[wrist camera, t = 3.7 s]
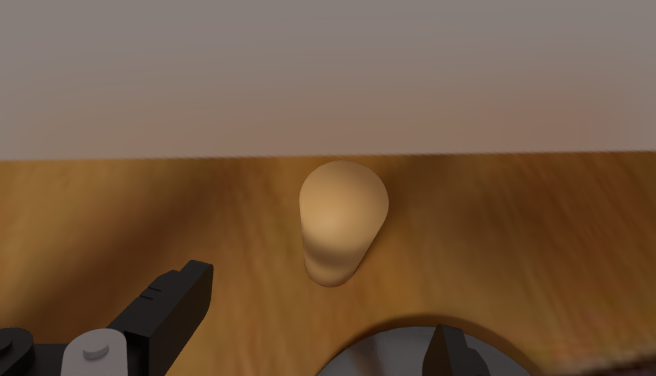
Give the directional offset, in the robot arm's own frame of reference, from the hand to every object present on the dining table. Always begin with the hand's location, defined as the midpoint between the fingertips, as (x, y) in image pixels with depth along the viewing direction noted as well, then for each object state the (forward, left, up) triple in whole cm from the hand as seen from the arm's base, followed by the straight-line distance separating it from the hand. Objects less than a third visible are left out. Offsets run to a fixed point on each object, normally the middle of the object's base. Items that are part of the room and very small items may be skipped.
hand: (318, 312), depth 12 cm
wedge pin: (-1, +4, -9) cm, 9 cm away
